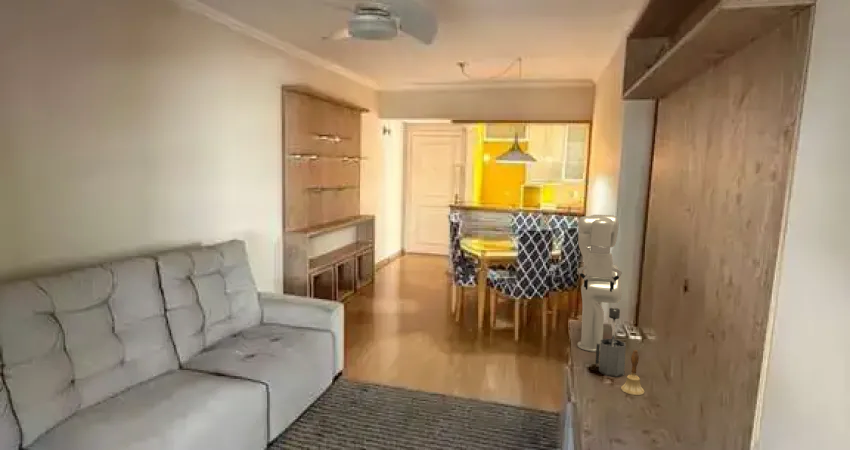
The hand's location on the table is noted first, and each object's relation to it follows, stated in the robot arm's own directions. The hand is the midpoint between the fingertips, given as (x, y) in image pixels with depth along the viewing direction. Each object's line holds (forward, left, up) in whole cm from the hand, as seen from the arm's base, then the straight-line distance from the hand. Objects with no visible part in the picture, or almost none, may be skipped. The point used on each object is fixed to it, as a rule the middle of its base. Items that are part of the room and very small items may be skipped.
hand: (598, 290), depth 207 cm
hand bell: (+19, +14, -33) cm, 41 cm away
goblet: (+4, +7, -23) cm, 24 cm away
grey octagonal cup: (+4, +7, -33) cm, 34 cm away
